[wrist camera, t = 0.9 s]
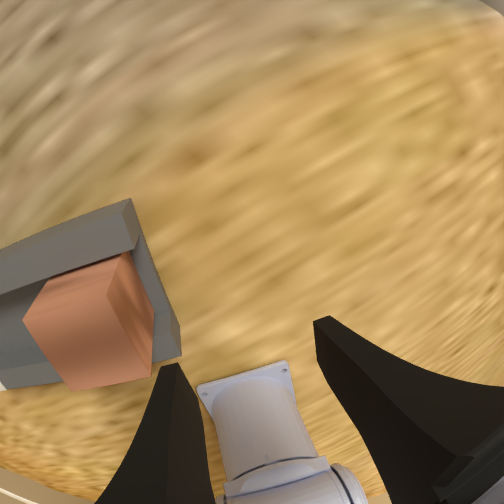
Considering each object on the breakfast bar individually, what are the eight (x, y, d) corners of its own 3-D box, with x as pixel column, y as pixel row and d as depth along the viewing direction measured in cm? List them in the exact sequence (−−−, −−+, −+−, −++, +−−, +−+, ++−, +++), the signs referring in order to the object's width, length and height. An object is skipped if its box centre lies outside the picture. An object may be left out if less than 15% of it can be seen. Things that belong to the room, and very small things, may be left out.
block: (154, 310, 19) (151, 376, 14) (90, 328, 19) (72, 391, 13) (126, 242, 17) (105, 295, 12) (58, 265, 16) (22, 320, 11)
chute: (179, 326, 21) (181, 356, 18) (4, 366, 19) (-8, 391, 16) (130, 197, 17) (121, 213, 14) (-51, 275, 15) (-71, 295, 12)
